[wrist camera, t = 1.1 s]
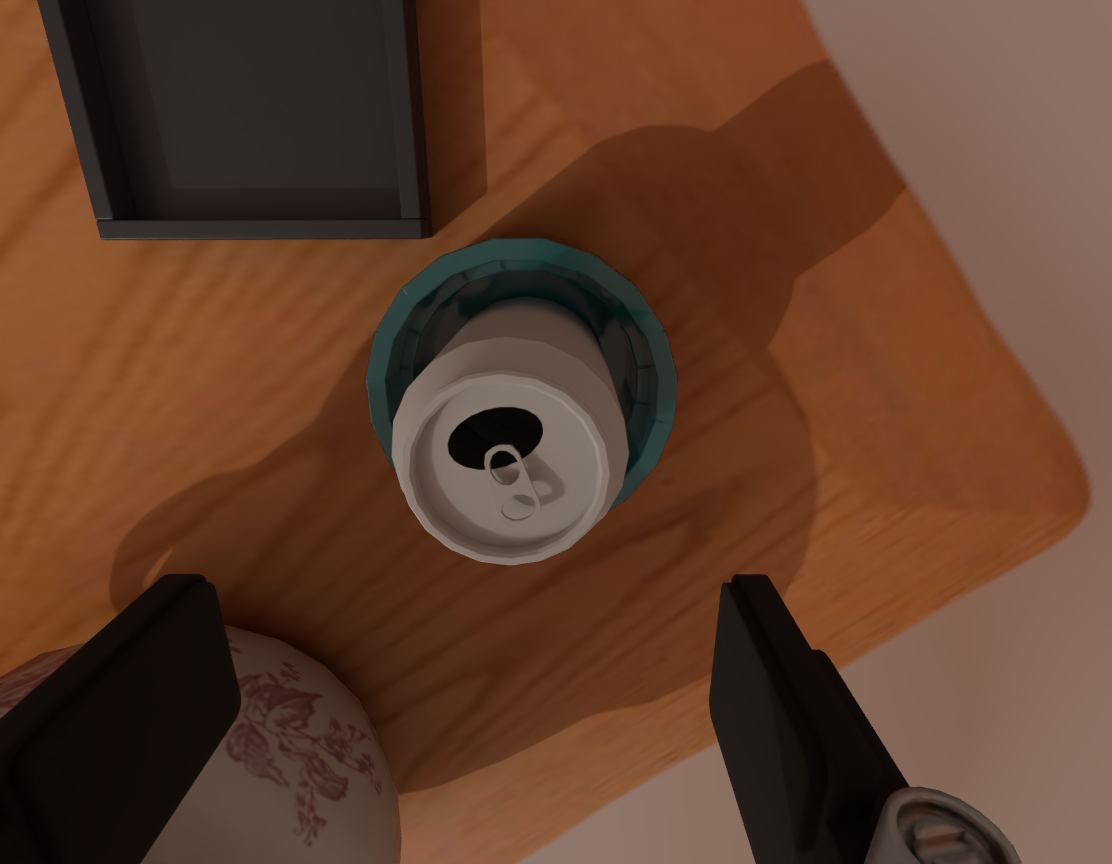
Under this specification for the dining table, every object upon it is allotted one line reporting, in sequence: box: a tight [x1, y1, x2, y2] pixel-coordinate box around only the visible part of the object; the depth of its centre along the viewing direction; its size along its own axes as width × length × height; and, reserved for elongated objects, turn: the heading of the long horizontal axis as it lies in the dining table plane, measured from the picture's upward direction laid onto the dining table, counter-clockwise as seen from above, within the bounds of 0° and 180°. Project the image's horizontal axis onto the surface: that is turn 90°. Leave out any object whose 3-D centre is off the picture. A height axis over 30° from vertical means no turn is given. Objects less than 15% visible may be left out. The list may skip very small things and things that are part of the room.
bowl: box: [366, 235, 678, 511], centre depth 26 cm, size 13×13×5 cm
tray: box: [37, 0, 432, 240], centre depth 23 cm, size 14×14×2 cm
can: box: [392, 296, 629, 565], centre depth 22 cm, size 8×8×12 cm
